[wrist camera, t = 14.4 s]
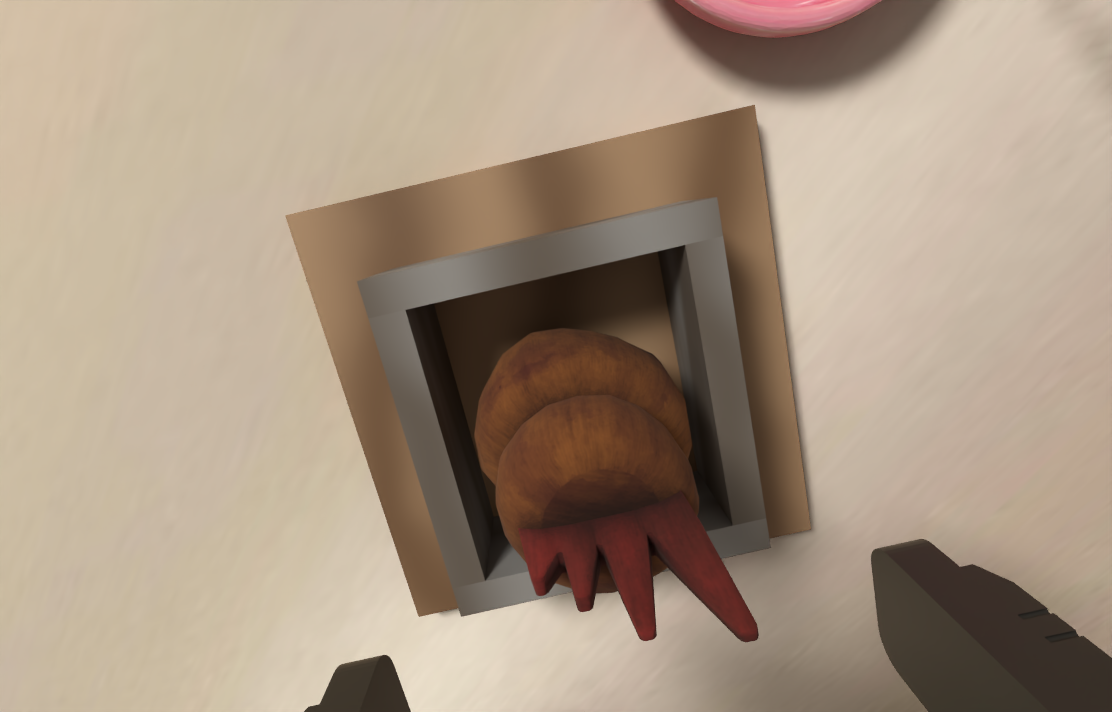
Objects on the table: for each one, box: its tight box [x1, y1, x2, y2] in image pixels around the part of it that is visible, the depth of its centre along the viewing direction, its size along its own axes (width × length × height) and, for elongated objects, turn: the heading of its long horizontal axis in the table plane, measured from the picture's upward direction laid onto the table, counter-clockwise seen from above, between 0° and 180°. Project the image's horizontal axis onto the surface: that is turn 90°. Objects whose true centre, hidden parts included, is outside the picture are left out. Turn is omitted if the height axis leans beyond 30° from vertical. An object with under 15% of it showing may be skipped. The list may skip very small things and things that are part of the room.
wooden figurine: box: [474, 328, 758, 642], centre depth 16 cm, size 7×6×15 cm
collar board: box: [286, 105, 811, 617], centre depth 22 cm, size 18×18×6 cm
